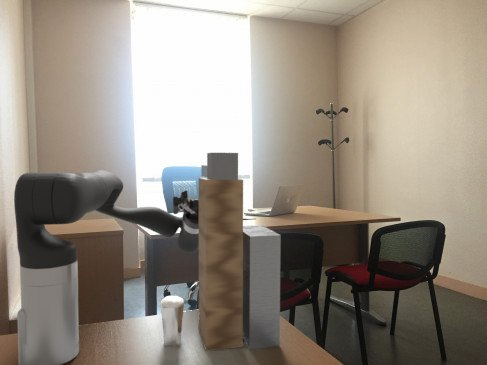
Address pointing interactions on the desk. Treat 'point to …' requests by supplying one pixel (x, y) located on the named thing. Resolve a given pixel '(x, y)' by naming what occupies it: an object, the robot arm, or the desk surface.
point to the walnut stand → (220, 263)
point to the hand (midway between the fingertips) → (203, 193)
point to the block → (221, 166)
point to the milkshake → (172, 319)
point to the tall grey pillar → (261, 287)
